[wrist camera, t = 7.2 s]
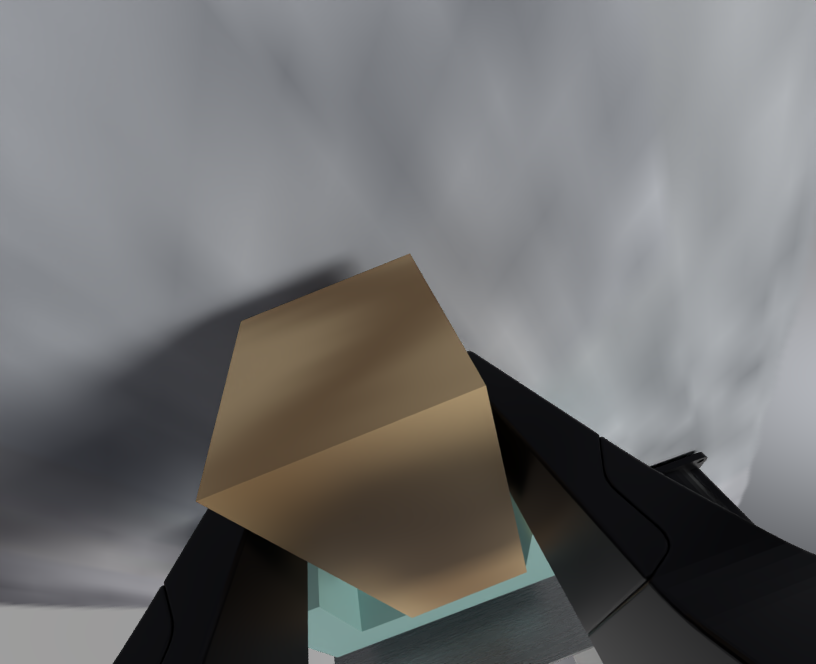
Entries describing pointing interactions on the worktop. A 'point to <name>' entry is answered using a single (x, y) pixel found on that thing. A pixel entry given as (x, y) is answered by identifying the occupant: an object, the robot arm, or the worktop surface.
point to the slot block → (375, 621)
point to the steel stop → (490, 633)
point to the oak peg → (366, 443)
